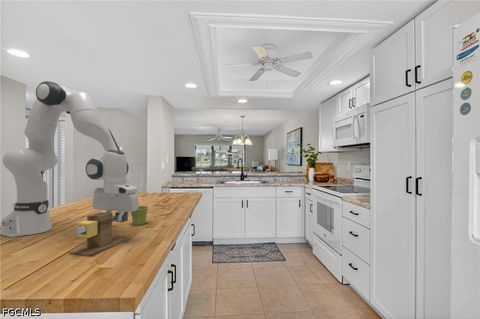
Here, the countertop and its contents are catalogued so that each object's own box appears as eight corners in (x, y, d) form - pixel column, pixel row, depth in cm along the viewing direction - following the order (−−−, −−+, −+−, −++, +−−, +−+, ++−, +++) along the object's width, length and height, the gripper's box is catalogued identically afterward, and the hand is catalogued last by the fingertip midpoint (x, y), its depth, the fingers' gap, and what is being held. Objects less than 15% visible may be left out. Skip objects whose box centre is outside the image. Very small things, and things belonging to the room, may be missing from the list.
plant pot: (141, 226, 127) (142, 209, 127) (125, 225, 129) (125, 208, 129) (151, 222, 136) (152, 206, 136) (136, 221, 138) (136, 205, 138)
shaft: (83, 236, 88) (83, 225, 88) (73, 236, 89) (73, 224, 89) (127, 220, 111) (127, 211, 111) (119, 220, 112) (119, 211, 112)
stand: (68, 253, 91) (69, 218, 91) (105, 238, 108) (105, 209, 108) (92, 256, 88) (92, 220, 88) (126, 240, 106) (126, 210, 106)
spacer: (88, 237, 90) (88, 223, 90) (77, 236, 91) (77, 223, 91) (97, 234, 94) (97, 221, 94) (86, 233, 95) (86, 220, 95)
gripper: (88, 188, 106) (88, 221, 106) (131, 189, 101) (131, 224, 101) (100, 186, 112) (99, 217, 112) (140, 188, 107) (140, 220, 107)
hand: (115, 220), depth 107 cm, fingers closed on shaft, 2 cm apart
